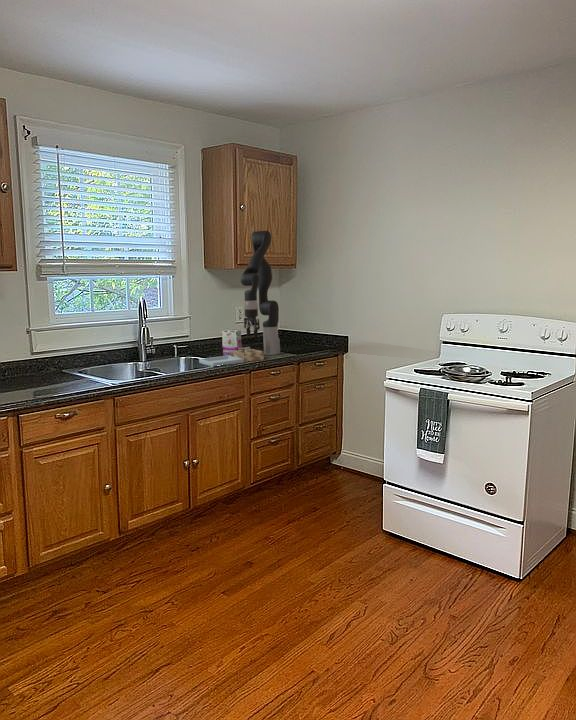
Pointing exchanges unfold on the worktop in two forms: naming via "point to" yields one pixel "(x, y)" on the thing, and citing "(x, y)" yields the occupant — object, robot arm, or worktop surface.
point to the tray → (220, 360)
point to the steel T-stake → (246, 349)
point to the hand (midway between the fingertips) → (252, 336)
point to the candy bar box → (231, 342)
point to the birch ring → (249, 355)
